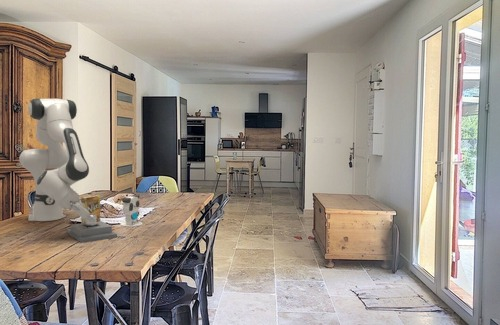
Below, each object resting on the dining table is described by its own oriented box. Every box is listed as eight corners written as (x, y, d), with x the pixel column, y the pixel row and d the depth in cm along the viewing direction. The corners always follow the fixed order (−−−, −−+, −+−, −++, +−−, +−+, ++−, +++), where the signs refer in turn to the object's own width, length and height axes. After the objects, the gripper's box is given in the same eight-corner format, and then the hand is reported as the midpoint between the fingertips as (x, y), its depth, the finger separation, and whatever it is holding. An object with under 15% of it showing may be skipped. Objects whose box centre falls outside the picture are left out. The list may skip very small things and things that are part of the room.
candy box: (86, 227, 198) (86, 197, 197) (80, 226, 200) (80, 197, 199) (100, 224, 206) (100, 195, 205) (95, 223, 208) (95, 195, 207)
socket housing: (66, 232, 187) (66, 223, 187) (100, 228, 197) (100, 219, 197) (80, 242, 170) (80, 232, 170) (117, 237, 180) (117, 227, 180)
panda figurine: (135, 227, 201) (135, 198, 200) (115, 226, 203) (115, 197, 202) (146, 222, 212) (146, 195, 211) (127, 221, 215) (127, 194, 214)
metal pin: (85, 231, 184) (85, 214, 184) (94, 230, 187) (94, 213, 186) (88, 233, 181) (88, 216, 180) (97, 232, 184) (97, 215, 183)
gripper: (77, 198, 170) (101, 218, 176) (72, 192, 188) (94, 210, 193) (66, 209, 168) (90, 229, 174) (62, 201, 186) (84, 220, 191)
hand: (92, 219), depth 184 cm, fingers open, 8 cm apart
